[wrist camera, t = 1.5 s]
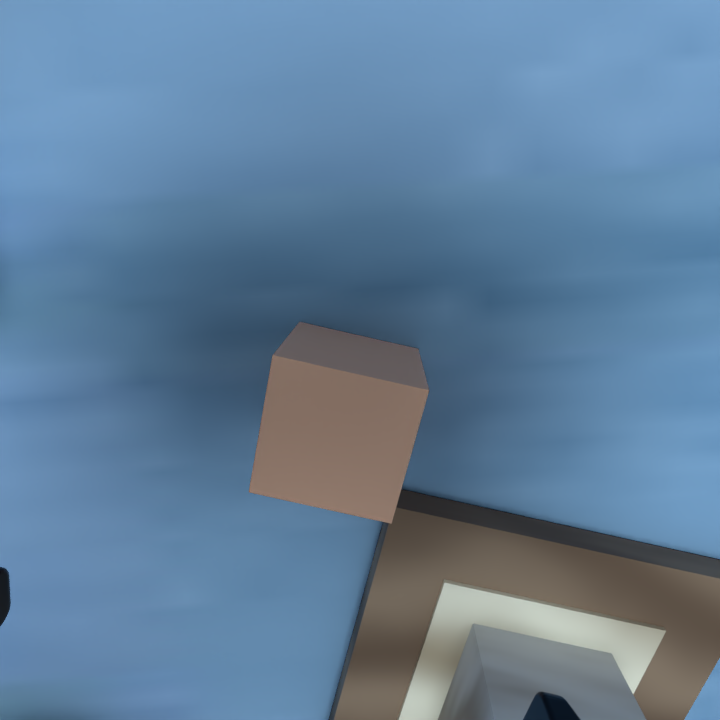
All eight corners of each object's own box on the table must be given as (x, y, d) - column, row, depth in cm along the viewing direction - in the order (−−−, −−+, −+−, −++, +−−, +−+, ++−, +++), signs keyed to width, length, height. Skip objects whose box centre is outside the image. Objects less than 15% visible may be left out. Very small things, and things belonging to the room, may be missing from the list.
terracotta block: (389, 454, 21) (391, 523, 16) (279, 429, 21) (248, 492, 16) (418, 348, 20) (429, 390, 15) (299, 321, 20) (272, 355, 15)
